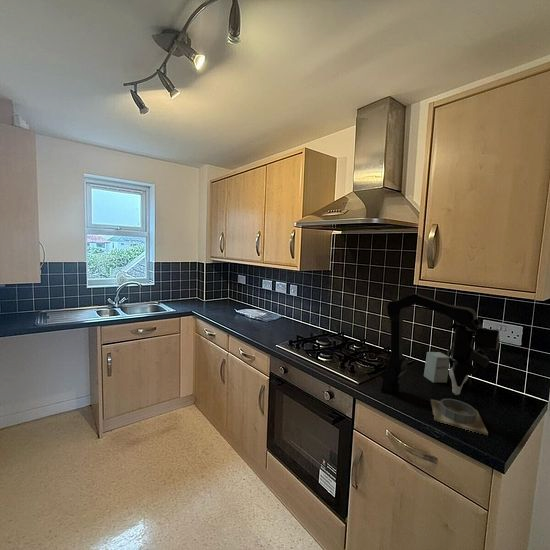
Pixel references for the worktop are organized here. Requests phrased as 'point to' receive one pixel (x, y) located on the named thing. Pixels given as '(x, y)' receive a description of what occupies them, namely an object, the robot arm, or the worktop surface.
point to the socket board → (458, 415)
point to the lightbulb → (455, 389)
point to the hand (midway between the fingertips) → (457, 383)
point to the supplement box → (436, 367)
